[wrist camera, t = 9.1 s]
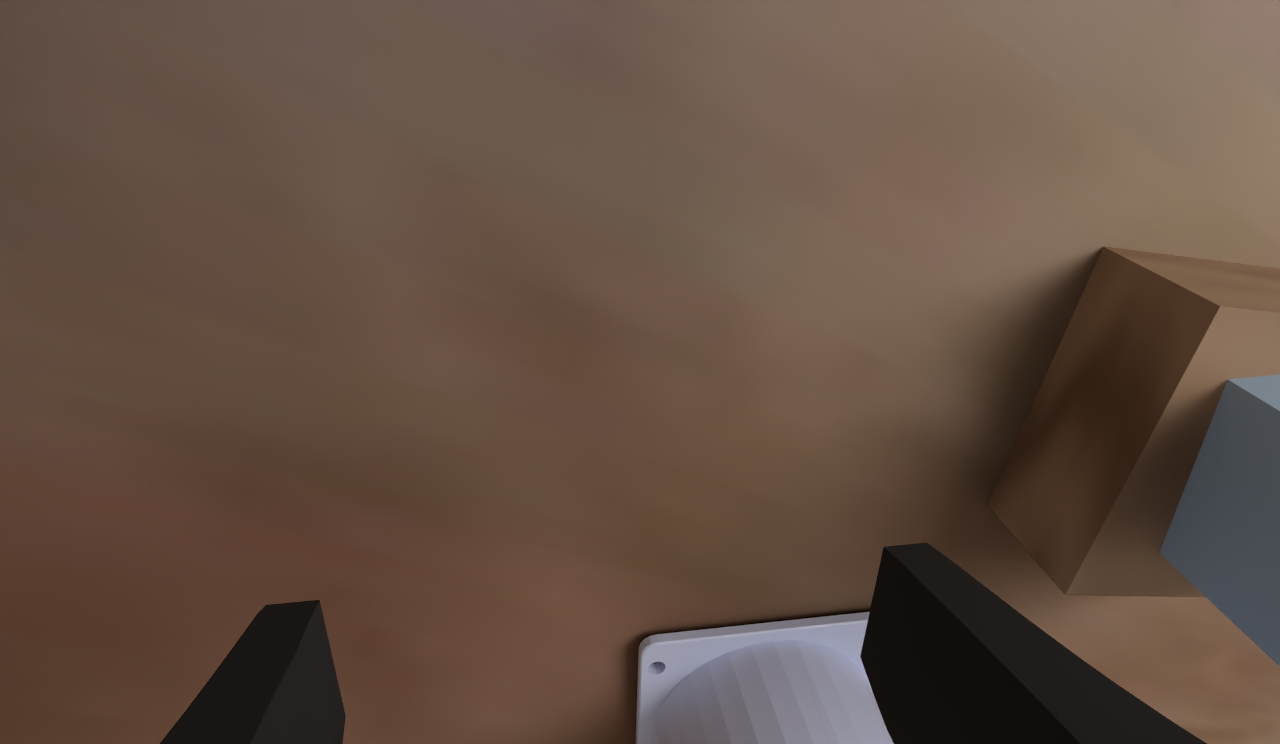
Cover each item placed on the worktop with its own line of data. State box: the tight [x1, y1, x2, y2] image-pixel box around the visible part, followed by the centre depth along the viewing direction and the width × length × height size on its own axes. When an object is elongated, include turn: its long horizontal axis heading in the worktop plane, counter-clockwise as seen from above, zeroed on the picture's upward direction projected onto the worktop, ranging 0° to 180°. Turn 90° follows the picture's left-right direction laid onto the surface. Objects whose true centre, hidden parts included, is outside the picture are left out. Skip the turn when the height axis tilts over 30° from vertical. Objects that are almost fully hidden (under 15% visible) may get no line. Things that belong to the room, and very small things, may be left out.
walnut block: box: [988, 247, 1280, 597], centre depth 21 cm, size 8×8×4 cm
